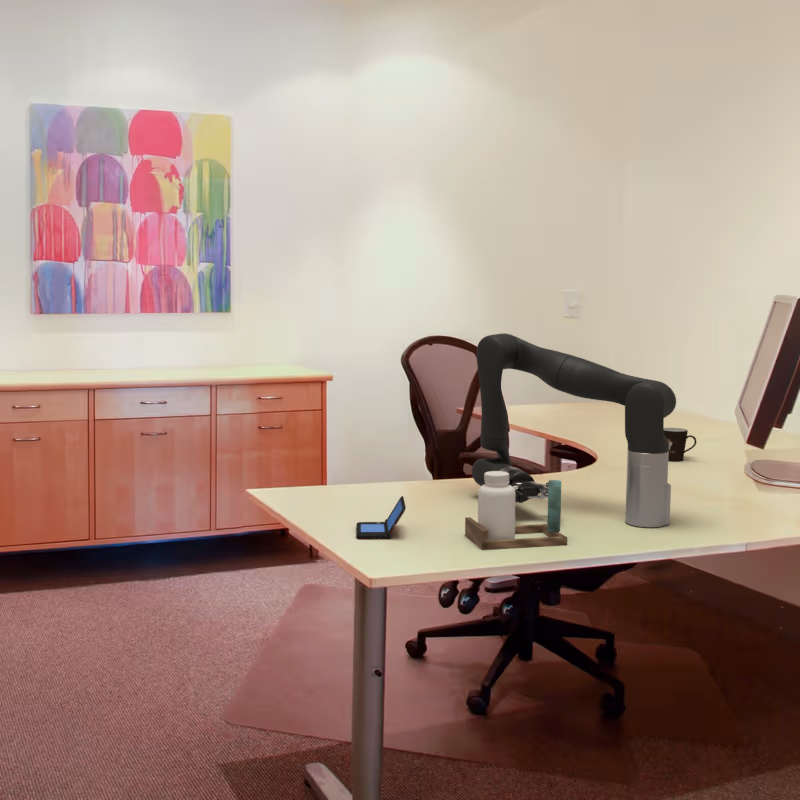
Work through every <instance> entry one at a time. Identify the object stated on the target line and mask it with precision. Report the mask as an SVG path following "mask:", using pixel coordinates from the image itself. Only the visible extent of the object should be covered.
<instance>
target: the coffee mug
mask: <svg viewBox="0 0 800 800" xmlns="http://www.w3.org/2000/svg"><path fill="white" fill-rule="evenodd" d="M688 433H689V429H687V428H682V427H664V435H665V437H666V438H667V439H668V441H669V451H668V452H669V454H668V462H669V463H670V462H674V463H675V462H676V463H679V462H683V461H684V457H685V456H684V455H685V453H687V452H689V451H690V450H692V449H693V448H694V447H695V446H696V445H697V438H696V437H695V436H694V435H693V434H692V435H691V434H689V435H688ZM689 438H692V439H693V442H694V443H693V445H692V446H690V447H689V448H686V444H687V440H688V439H689Z"/></svg>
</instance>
